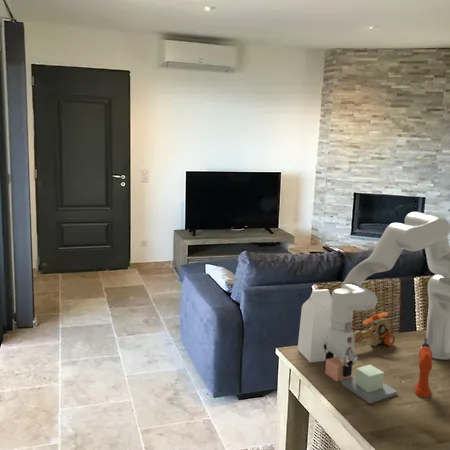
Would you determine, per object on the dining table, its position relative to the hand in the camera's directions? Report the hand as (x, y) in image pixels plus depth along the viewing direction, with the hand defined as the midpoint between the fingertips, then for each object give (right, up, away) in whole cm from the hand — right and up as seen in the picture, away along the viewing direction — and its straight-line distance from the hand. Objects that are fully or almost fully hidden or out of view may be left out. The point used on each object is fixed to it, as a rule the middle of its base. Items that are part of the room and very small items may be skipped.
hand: (337, 369), depth 177 cm
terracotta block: (0, -2, +1) cm, 2 cm away
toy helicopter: (+20, +2, +25) cm, 32 cm away
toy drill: (+28, -4, -6) cm, 29 cm away
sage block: (+8, -3, -9) cm, 13 cm away
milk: (-4, +1, +17) cm, 18 cm away
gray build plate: (+8, -4, -9) cm, 13 cm away
